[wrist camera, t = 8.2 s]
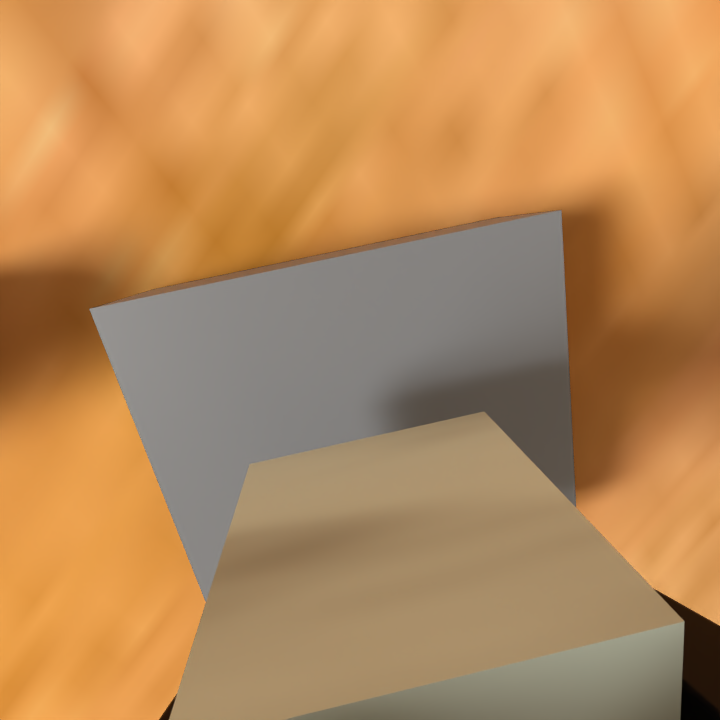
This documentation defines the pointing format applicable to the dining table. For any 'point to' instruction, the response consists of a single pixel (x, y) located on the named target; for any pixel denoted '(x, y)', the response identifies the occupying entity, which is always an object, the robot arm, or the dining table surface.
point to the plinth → (344, 359)
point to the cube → (425, 593)
